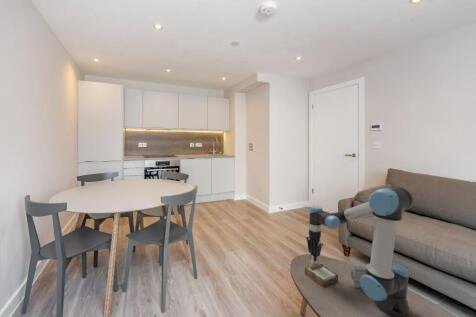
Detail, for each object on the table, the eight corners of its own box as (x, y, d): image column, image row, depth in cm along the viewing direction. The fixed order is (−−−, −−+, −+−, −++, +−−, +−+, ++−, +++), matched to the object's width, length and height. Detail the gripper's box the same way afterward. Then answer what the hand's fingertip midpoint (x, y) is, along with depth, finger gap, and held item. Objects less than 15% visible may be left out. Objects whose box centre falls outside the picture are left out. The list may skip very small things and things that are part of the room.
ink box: (364, 283, 135) (365, 265, 134) (368, 288, 131) (369, 269, 130) (349, 282, 136) (351, 263, 135) (353, 287, 131) (354, 268, 130)
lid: (335, 277, 137) (336, 271, 137) (323, 281, 132) (323, 275, 132) (319, 266, 148) (320, 261, 148) (308, 270, 143) (308, 265, 143)
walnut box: (338, 281, 137) (338, 274, 136) (322, 287, 131) (323, 280, 131) (319, 268, 150) (319, 262, 150) (304, 273, 144) (305, 267, 144)
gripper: (327, 232, 140) (325, 268, 142) (311, 225, 152) (310, 258, 154) (318, 234, 137) (316, 271, 139) (303, 227, 149) (302, 261, 150)
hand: (313, 264), depth 146 cm, fingers closed
